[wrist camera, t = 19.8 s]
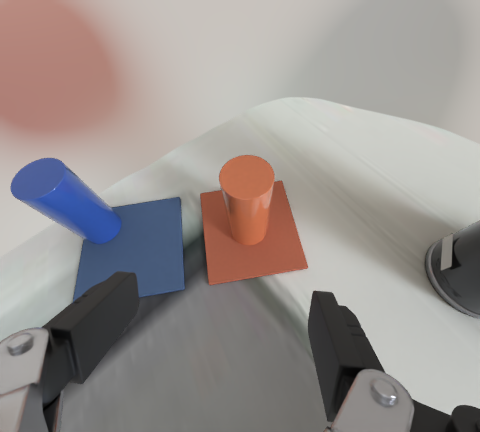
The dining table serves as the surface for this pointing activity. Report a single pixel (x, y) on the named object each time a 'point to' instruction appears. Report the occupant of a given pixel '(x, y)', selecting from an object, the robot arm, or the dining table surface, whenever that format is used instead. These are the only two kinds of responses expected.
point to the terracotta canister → (247, 197)
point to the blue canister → (66, 200)
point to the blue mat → (139, 250)
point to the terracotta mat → (250, 256)
